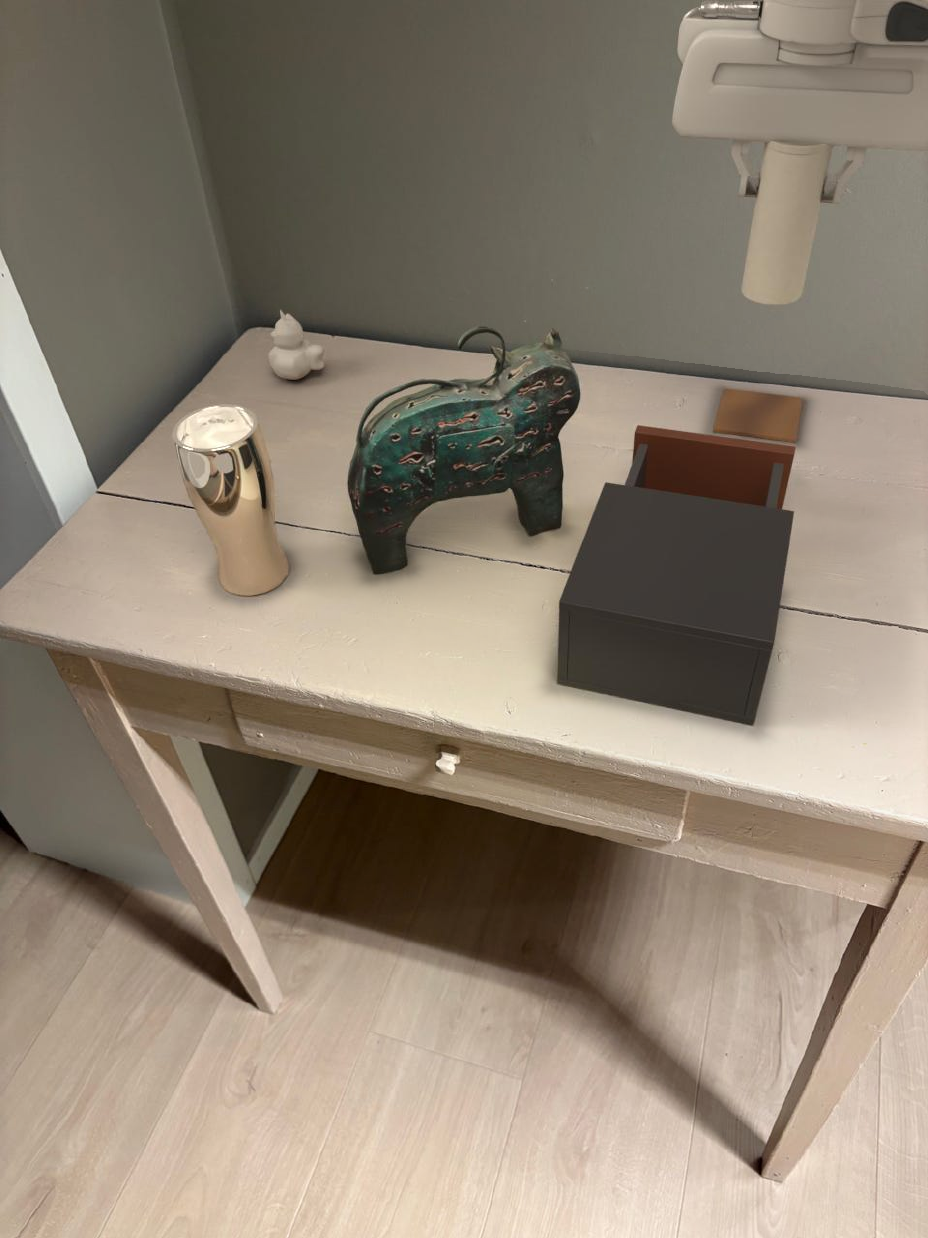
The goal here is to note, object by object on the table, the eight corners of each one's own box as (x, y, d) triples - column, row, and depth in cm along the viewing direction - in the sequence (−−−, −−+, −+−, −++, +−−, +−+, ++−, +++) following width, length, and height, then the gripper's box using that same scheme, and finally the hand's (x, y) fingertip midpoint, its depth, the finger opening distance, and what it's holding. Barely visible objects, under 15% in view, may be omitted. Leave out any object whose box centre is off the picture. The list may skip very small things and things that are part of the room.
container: (805, 281, 86) (838, 125, 77) (800, 308, 82) (834, 148, 73) (743, 275, 87) (768, 121, 78) (736, 302, 84) (761, 144, 75)
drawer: (641, 461, 92) (646, 399, 87) (786, 482, 88) (800, 418, 83) (598, 581, 80) (602, 516, 75) (764, 611, 76) (779, 545, 71)
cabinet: (600, 563, 83) (605, 481, 77) (774, 594, 79) (794, 510, 73) (556, 684, 73) (558, 601, 67) (753, 726, 69) (774, 642, 63)
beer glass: (307, 555, 85) (276, 408, 75) (271, 606, 81) (232, 458, 70) (238, 542, 87) (198, 397, 77) (199, 591, 83) (151, 444, 72)
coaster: (802, 400, 99) (803, 397, 99) (795, 442, 94) (796, 439, 94) (724, 391, 102) (724, 387, 101) (712, 431, 96) (713, 428, 96)
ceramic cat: (559, 496, 90) (564, 292, 76) (587, 537, 85) (598, 328, 71) (354, 547, 86) (319, 342, 72) (372, 592, 81) (339, 383, 68)
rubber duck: (282, 361, 111) (269, 295, 105) (336, 366, 110) (325, 299, 104) (264, 385, 107) (249, 318, 102) (319, 390, 106) (307, 323, 100)
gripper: (674, 9, 70) (656, 202, 80) (978, 17, 65) (920, 222, 74) (688, -11, 74) (669, 175, 84) (974, -5, 69) (919, 192, 79)
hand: (789, 197), depth 79 cm, fingers closed on container, 5 cm apart
